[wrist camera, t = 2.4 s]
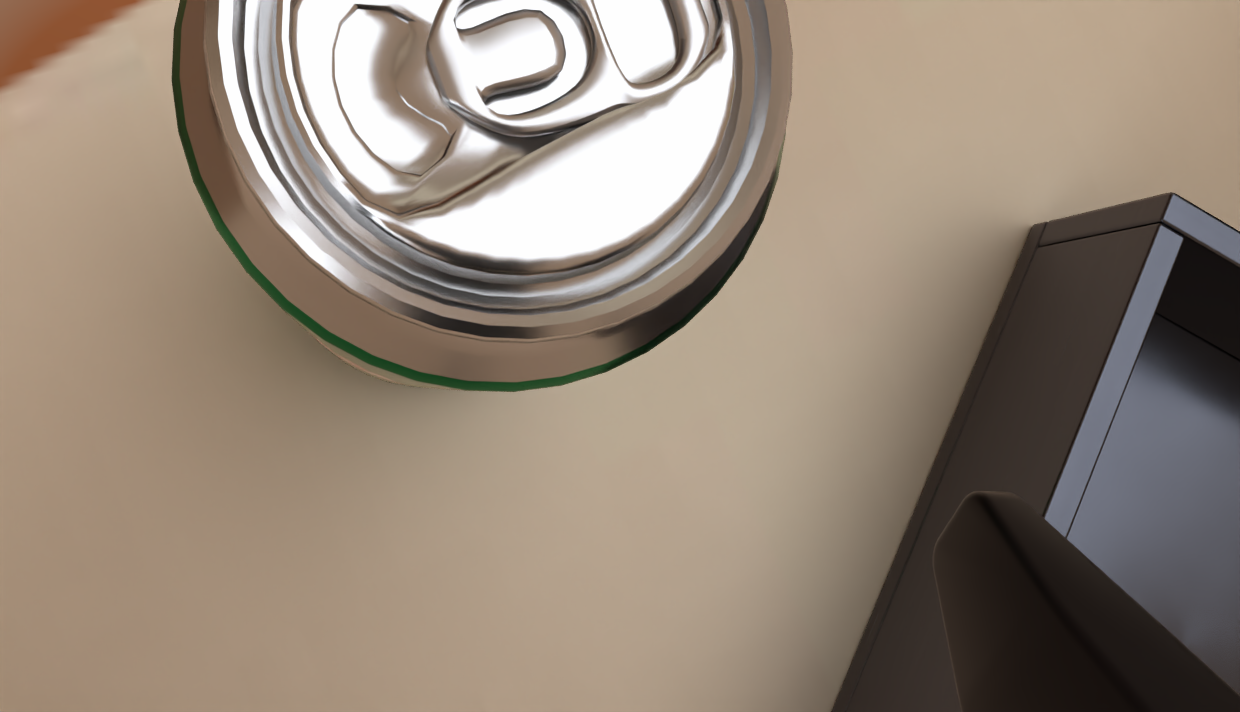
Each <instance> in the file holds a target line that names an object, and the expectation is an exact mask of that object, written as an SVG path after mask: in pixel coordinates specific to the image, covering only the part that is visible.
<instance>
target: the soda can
mask: <svg viewBox="0 0 1240 712" xmlns="http://www.w3.org/2000/svg"><path fill="white" fill-rule="evenodd" d="M792 53H793V52H792V44H791V36H790V28H789V20H788V12H787V6H786V3H785V0H180V3H179V8H178V12H177V17H176V22H175V26H174V38H173V62H172V86H173V94H174V102H175V110H176V118H177V125H178V132H179V136H180V139H181V142H182V146H183V149H184V152H185V156H186V159H187V162H188V166H189V169H190V172H191V176H192V179H193V182H194V184H195V186H196V188H197V190H198V193H199V195H200V197H201V199H202V201H203V203H204V205H205V207H206V209H207V211H208V213H209V215H210V217H211V219H212V221H213V223H214V225H215V227H216V229H217V231H218V232H219V234H220V235H221V236H222V238H223V239H224V241H225V242H226V244H227V245H228V246H229V248H230V249H231V251H232V252H233V254H234V255H235V256H236V258H237V259H238V261H239V262H240V264H241V265H242V266H243V268H244V269H245V271H246V272H247V273H248V274H249V275H250V276H251V277H252V278H253V279H254V280H255V281H256V282H257V283H258V284H259V285H260V286H261V288H262V289H263V290H264V291H265V292H266V293H267V294H268V295H269V296H270V297H271V298H272V299H273V300H274V301H275V302H276V303H277V304H278V305H279V306H280V307H281V308H282V309H283V310H284V311H285V312H286V313H287V314H288V315H289V316H291V317H292V318H293V319H294V320H295V321H296V322H297V323H298V324H299V325H301V326H302V327H303V328H304V329H305V330H306V331H307V332H308V333H310V334H311V335H312V336H313V337H314V338H315V339H316V340H317V341H318V342H320V343H321V344H322V345H323V346H324V347H325V348H326V349H327V350H329V351H330V352H331V353H333V354H334V355H335V356H337V357H338V358H339V359H341V360H342V361H343V362H345V363H346V364H348V365H350V366H351V367H353V368H355V369H357V370H359V371H361V372H363V373H365V374H366V375H369V376H372V377H375V378H378V379H381V380H383V381H386V382H389V383H395V384H400V385H406V386H411V387H424V388H438V389H451V390H464V391H500V392H517V391H524V390H532V389H539V388H547V387H554V386H561V385H565V384H568V383H572V382H575V381H578V380H582V379H585V378H588V377H592V376H595V375H598V374H602V373H605V372H607V371H609V370H612V369H614V368H616V367H618V366H620V365H622V364H624V363H626V362H628V361H630V360H632V359H634V358H636V357H638V356H640V355H642V354H645V353H647V352H648V351H650V350H651V349H653V348H654V347H655V346H657V345H658V344H660V343H661V342H663V341H664V340H665V339H667V338H668V337H670V336H671V335H673V334H674V333H675V332H677V331H678V330H680V329H681V328H683V327H684V326H685V325H686V324H687V323H688V322H689V321H690V320H691V319H692V318H693V317H694V316H695V315H696V314H697V313H698V312H700V311H701V310H702V309H703V308H704V307H705V306H706V305H707V304H708V303H709V302H710V301H711V300H712V299H713V298H714V297H715V296H716V295H717V294H718V292H719V291H720V290H721V288H722V287H723V286H724V284H725V283H726V282H727V280H728V279H729V278H730V276H731V275H732V274H733V272H734V271H735V269H736V268H737V267H738V265H739V264H740V263H741V261H742V260H743V259H744V257H745V255H746V253H747V251H748V249H749V247H750V245H751V243H752V241H753V239H754V237H755V236H756V234H757V232H758V230H759V228H760V226H761V224H762V222H763V220H764V217H765V214H766V211H767V209H768V206H769V203H770V200H771V197H772V194H773V191H774V188H775V185H776V182H777V179H778V174H779V168H780V163H781V157H782V151H783V146H784V140H785V133H786V124H787V118H788V112H789V106H790V101H791V95H792Z"/></svg>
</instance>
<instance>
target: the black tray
mask: <svg viewBox="0 0 1240 712" xmlns="http://www.w3.org/2000/svg"><path fill="white" fill-rule="evenodd" d="M975 491H1005V492H1011V493H1014V494H1016V495H1017V496H1019V497H1020V498H1022V499H1023V500H1024V501H1025V502H1026V503H1028V504H1029V505H1030V506H1031V507H1032V508H1033V509H1034V510H1035V511H1036V512H1038V513H1039V514H1040V515H1041V516H1042V517H1043V518H1044V519H1045V520H1046V521H1048V522H1049V523H1050V524H1051V525H1052V526H1053V527H1054V528H1055V529H1056V530H1058V531H1059V532H1060V533H1061V534H1062V535H1063V536H1064V537H1065V538H1066V539H1067V540H1069V541H1070V542H1071V543H1072V544H1073V545H1074V546H1075V547H1076V548H1077V549H1079V550H1080V551H1081V552H1082V553H1083V554H1084V555H1085V556H1086V557H1087V558H1089V559H1090V560H1091V561H1092V562H1093V563H1094V564H1095V565H1096V566H1097V567H1099V568H1100V569H1101V570H1102V571H1103V572H1104V573H1105V574H1106V575H1107V576H1109V577H1110V578H1111V579H1112V580H1113V581H1114V582H1115V583H1116V584H1117V585H1119V586H1120V587H1121V588H1122V589H1123V590H1124V591H1125V592H1126V593H1127V594H1129V595H1130V596H1131V597H1132V598H1133V599H1134V600H1135V601H1136V602H1137V603H1139V604H1140V605H1141V606H1142V607H1143V608H1144V609H1145V610H1146V611H1147V612H1149V613H1150V614H1151V615H1152V616H1153V617H1154V618H1155V619H1156V620H1157V621H1158V622H1160V623H1161V624H1162V625H1163V626H1164V627H1165V628H1166V629H1167V630H1168V631H1170V632H1171V633H1172V634H1173V635H1174V636H1175V637H1176V638H1177V639H1178V640H1180V641H1181V642H1182V643H1183V644H1184V645H1185V646H1186V647H1187V648H1188V649H1190V650H1191V651H1192V652H1193V653H1194V654H1195V655H1196V656H1197V657H1198V658H1200V659H1201V660H1202V661H1203V662H1204V663H1205V664H1206V665H1207V666H1208V667H1210V668H1211V669H1212V670H1213V671H1214V672H1215V673H1216V674H1217V675H1218V676H1220V677H1221V678H1222V679H1223V680H1224V681H1225V682H1226V683H1227V684H1228V685H1230V686H1231V687H1232V688H1233V689H1234V690H1235V691H1236V692H1237V693H1238V694H1239V695H1240V232H1239V231H1238V230H1236V229H1234V228H1233V227H1231V226H1229V225H1228V224H1226V223H1224V222H1223V221H1221V220H1219V219H1217V218H1216V217H1214V216H1212V215H1211V214H1209V213H1207V212H1206V211H1204V210H1202V209H1201V208H1199V207H1197V206H1196V205H1194V204H1192V203H1191V202H1189V201H1187V200H1186V199H1184V198H1182V197H1180V196H1179V195H1177V194H1175V193H1172V192H1170V193H1165V194H1161V195H1157V196H1153V197H1149V198H1144V199H1140V200H1136V201H1132V202H1128V203H1123V204H1119V205H1115V206H1111V207H1107V208H1102V209H1098V210H1094V211H1090V212H1086V213H1082V214H1077V215H1073V216H1069V217H1065V218H1061V219H1056V220H1052V221H1049V222H1043V223H1038V224H1034V225H1033V226H1032V229H1031V231H1030V233H1029V236H1028V238H1027V241H1026V243H1025V246H1024V248H1023V250H1022V253H1021V255H1020V258H1019V260H1018V262H1017V265H1016V267H1015V270H1014V272H1013V275H1012V277H1011V279H1010V282H1009V284H1008V287H1007V289H1006V291H1005V294H1004V296H1003V299H1002V301H1001V303H1000V306H999V308H998V311H997V313H996V316H995V318H994V320H993V323H992V325H991V328H990V330H989V332H988V335H987V337H986V340H985V342H984V345H983V347H982V349H981V352H980V354H979V357H978V359H977V361H976V364H975V366H974V369H973V371H972V374H971V376H970V378H969V381H968V383H967V386H966V388H965V390H964V393H963V395H962V398H961V400H960V403H959V405H958V407H957V410H956V412H955V415H954V417H953V419H952V422H951V424H950V427H949V429H948V432H947V434H946V436H945V439H944V441H943V444H942V446H941V448H940V451H939V453H938V456H937V458H936V461H935V463H934V465H933V468H932V470H931V473H930V475H929V477H928V480H927V482H926V485H925V487H924V490H923V492H922V494H921V497H920V499H919V502H918V504H917V506H916V509H915V511H914V514H913V516H912V519H911V521H910V523H909V526H908V528H907V531H906V533H905V535H904V538H903V540H902V543H901V545H900V547H899V550H898V552H897V555H896V557H895V560H894V562H893V564H892V567H891V569H890V572H889V574H888V576H887V579H886V581H885V584H884V586H883V589H882V591H881V593H880V596H879V598H878V601H877V603H876V605H875V608H874V610H873V613H872V615H871V618H870V620H869V622H868V625H867V627H866V630H865V632H864V634H863V637H862V639H861V642H860V644H859V647H858V649H857V651H856V654H855V656H854V659H853V661H852V663H851V666H850V668H849V671H848V673H847V676H846V678H845V680H844V683H843V685H842V688H841V690H840V692H839V695H838V697H837V700H836V702H835V705H834V707H833V709H832V712H962V711H961V707H960V703H959V698H958V694H957V689H956V684H955V678H954V673H953V668H952V663H951V658H950V653H949V648H948V642H947V637H946V632H945V627H944V622H943V617H942V612H941V607H940V601H939V596H938V591H937V586H936V581H935V576H934V570H933V551H934V547H935V544H936V542H937V540H938V538H939V537H940V535H941V533H942V532H943V530H944V529H945V527H946V526H947V524H948V522H949V521H950V519H951V518H952V516H953V515H954V513H955V512H956V510H957V508H958V507H959V505H960V504H961V502H962V501H963V499H964V498H965V497H966V496H967V495H968V494H970V493H972V492H975Z"/></svg>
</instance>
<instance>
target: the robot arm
mask: <svg viewBox="0 0 1240 712" xmlns="http://www.w3.org/2000/svg"><path fill="white" fill-rule="evenodd" d="M933 570H934V576H935V581H936V586H937V591H938V596H939V601H940V607H941V612H942V617H943V622H944V627H945V632H946V637H947V642H948V648H949V653H950V658H951V663H952V668H953V673H954V678H955V684H956V689H957V694H958V698H959V703H960V707H961V711H962V712H1240V695H1239V694H1238V693H1237V692H1236V691H1235V690H1234V689H1233V688H1232V687H1231V686H1230V685H1228V684H1227V683H1226V682H1225V681H1224V680H1223V679H1222V678H1221V677H1220V676H1218V675H1217V674H1216V673H1215V672H1214V671H1213V670H1212V669H1211V668H1210V667H1208V666H1207V665H1206V664H1205V663H1204V662H1203V661H1202V660H1201V659H1200V658H1198V657H1197V656H1196V655H1195V654H1194V653H1193V652H1192V651H1191V650H1190V649H1188V648H1187V647H1186V646H1185V645H1184V644H1183V643H1182V642H1181V641H1180V640H1178V639H1177V638H1176V637H1175V636H1174V635H1173V634H1172V633H1171V632H1170V631H1168V630H1167V629H1166V628H1165V627H1164V626H1163V625H1162V624H1161V623H1160V622H1158V621H1157V620H1156V619H1155V618H1154V617H1153V616H1152V615H1151V614H1150V613H1149V612H1147V611H1146V610H1145V609H1144V608H1143V607H1142V606H1141V605H1140V604H1139V603H1137V602H1136V601H1135V600H1134V599H1133V598H1132V597H1131V596H1130V595H1129V594H1127V593H1126V592H1125V591H1124V590H1123V589H1122V588H1121V587H1120V586H1119V585H1117V584H1116V583H1115V582H1114V581H1113V580H1112V579H1111V578H1110V577H1109V576H1107V575H1106V574H1105V573H1104V572H1103V571H1102V570H1101V569H1100V568H1099V567H1097V566H1096V565H1095V564H1094V563H1093V562H1092V561H1091V560H1090V559H1089V558H1087V557H1086V556H1085V555H1084V554H1083V553H1082V552H1081V551H1080V550H1079V549H1077V548H1076V547H1075V546H1074V545H1073V544H1072V543H1071V542H1070V541H1069V540H1067V539H1066V538H1065V537H1064V536H1063V535H1062V534H1061V533H1060V532H1059V531H1058V530H1056V529H1055V528H1054V527H1053V526H1052V525H1051V524H1050V523H1049V522H1048V521H1046V520H1045V519H1044V518H1043V517H1042V516H1041V515H1040V514H1039V513H1038V512H1036V511H1035V510H1034V509H1033V508H1032V507H1031V506H1030V505H1029V504H1028V503H1026V502H1025V501H1024V500H1023V499H1022V498H1020V497H1019V496H1017V495H1016V494H1014V493H1011V492H1005V491H975V492H972V493H970V494H968V495H967V496H966V497H965V498H964V499H963V501H962V502H961V504H960V505H959V507H958V508H957V510H956V512H955V513H954V515H953V516H952V518H951V519H950V521H949V522H948V524H947V526H946V527H945V529H944V530H943V532H942V533H941V535H940V537H939V538H938V540H937V542H936V544H935V547H934V551H933Z"/></svg>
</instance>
